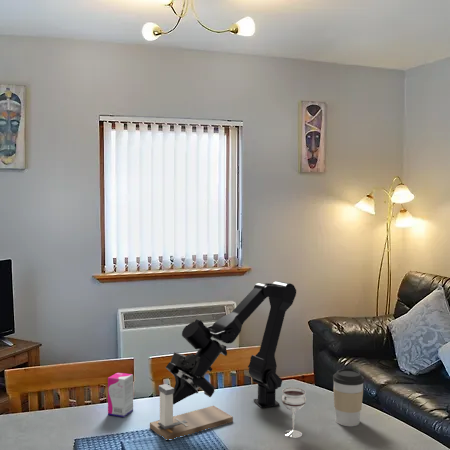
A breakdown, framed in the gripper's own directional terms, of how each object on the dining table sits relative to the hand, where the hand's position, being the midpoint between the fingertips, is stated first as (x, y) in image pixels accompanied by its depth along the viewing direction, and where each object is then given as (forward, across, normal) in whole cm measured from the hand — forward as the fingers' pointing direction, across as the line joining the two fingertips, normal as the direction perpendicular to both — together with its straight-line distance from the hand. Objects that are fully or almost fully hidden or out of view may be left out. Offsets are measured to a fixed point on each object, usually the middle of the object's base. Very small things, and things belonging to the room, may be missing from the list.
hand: (171, 403), depth 151 cm
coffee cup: (-27, +24, +38) cm, 53 cm away
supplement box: (+10, -19, +1) cm, 22 cm away
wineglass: (-14, +21, +25) cm, 35 cm away
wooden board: (+1, 0, +10) cm, 10 cm away
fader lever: (+5, 0, +3) cm, 6 cm away
